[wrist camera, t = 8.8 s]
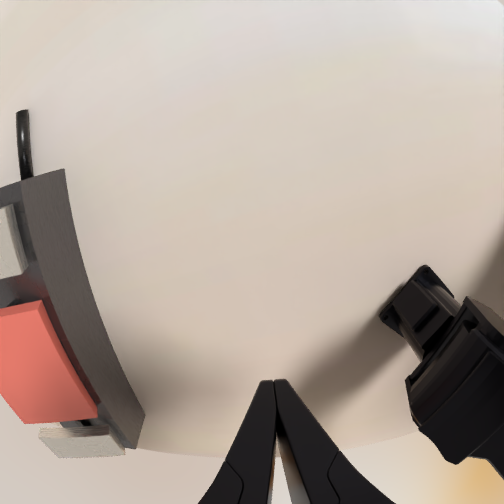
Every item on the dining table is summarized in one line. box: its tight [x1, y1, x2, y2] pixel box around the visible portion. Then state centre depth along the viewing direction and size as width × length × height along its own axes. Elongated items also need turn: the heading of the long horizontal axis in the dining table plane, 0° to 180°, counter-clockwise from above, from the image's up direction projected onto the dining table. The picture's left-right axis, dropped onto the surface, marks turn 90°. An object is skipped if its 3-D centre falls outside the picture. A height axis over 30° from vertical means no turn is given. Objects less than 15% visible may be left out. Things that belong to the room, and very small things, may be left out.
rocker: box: [0, 300, 98, 424], centre depth 16 cm, size 9×12×1 cm
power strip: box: [0, 110, 145, 458], centre depth 17 cm, size 10×35×10 cm, turn 3°
